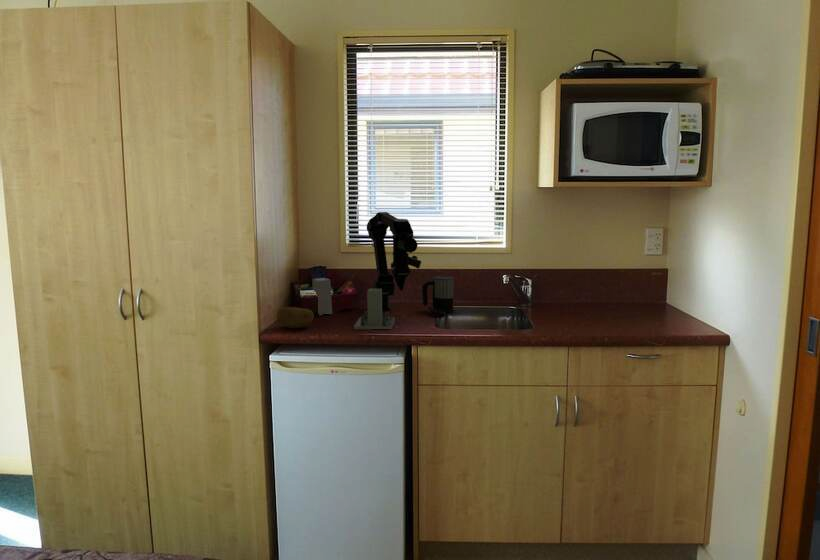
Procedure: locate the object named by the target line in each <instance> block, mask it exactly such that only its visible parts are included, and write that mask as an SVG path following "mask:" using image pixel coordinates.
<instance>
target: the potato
mask: <svg viewBox="0 0 820 560" xmlns="http://www.w3.org/2000/svg"><path fill="white" fill-rule="evenodd" d="M314 313H315V312H314V311H313V310H311V309H309V308H302V307H295V306H294V307H293V306H284V307H281V308H279V309H278V310H277V313H276V317H277V320H278V322H279V323H280V324H282V326H284V327H285V328H289V329H300V328H305V327H307V326H308V325H309V324H310V323H311V322H313V320H314V316H315V314H314Z"/></svg>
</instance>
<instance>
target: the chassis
mask: <svg viewBox="0 0 820 560" xmlns="http://www.w3.org/2000/svg"><path fill="white" fill-rule="evenodd" d="M384 315H385V316H384ZM384 315H382V322H381V323H368V310H364V311H363V316H362V315H361V316H360V317H359V318H358V320H357V321H356V322H355V324H354V325H353V330H372V329H391V330H392V329H393V327H394V324H395V321H396V318H395V317H393V316H392V317H390V311H389V310H385V313H384ZM392 326H393V327H392Z"/></svg>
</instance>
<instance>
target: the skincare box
mask: <svg viewBox="0 0 820 560" xmlns="http://www.w3.org/2000/svg"><path fill="white" fill-rule="evenodd" d="M311 283H312V291H313V290H314V291H315V292H316V294H317V297H318V314H319V315H318V314H317V315H318V316H324V315H323V314H330V315H333V305H332V304H333V302H332V301H333V300H332V289H331V287H332V285H331V279H329V278H326V277H319V278H312V282H311Z"/></svg>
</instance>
